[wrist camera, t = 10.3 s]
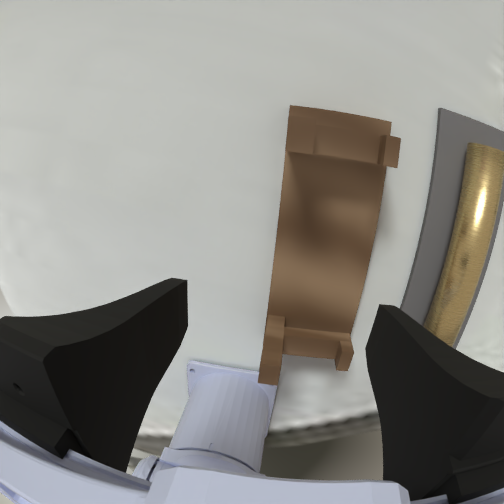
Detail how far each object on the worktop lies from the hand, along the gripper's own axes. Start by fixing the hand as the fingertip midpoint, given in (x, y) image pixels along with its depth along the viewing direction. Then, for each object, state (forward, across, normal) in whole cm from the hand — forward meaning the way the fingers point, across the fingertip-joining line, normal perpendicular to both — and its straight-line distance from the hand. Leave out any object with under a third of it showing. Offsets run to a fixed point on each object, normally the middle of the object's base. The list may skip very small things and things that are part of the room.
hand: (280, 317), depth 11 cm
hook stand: (+10, -2, 0) cm, 11 cm away
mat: (+10, -13, 0) cm, 17 cm away
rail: (+8, -13, 0) cm, 15 cm away
